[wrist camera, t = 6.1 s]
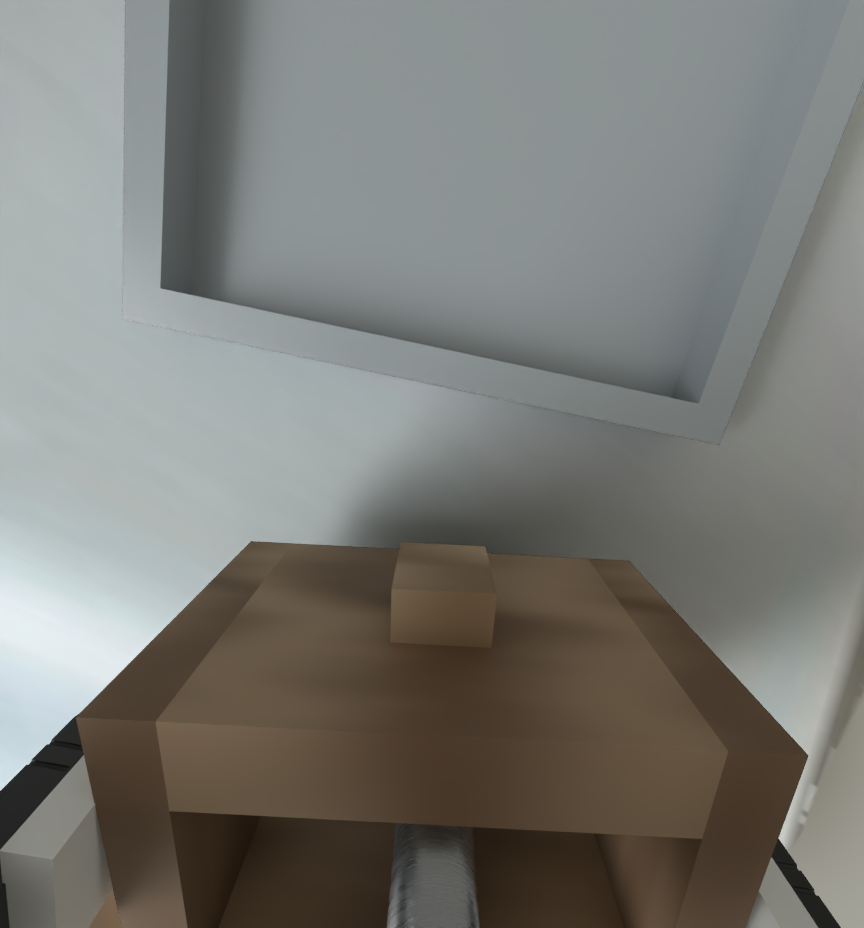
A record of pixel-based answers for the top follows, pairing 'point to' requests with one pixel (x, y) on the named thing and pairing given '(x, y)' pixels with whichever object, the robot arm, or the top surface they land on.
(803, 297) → the top surface
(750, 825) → the brown wooden open box
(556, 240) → the tray
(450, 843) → the t-shaped peg
